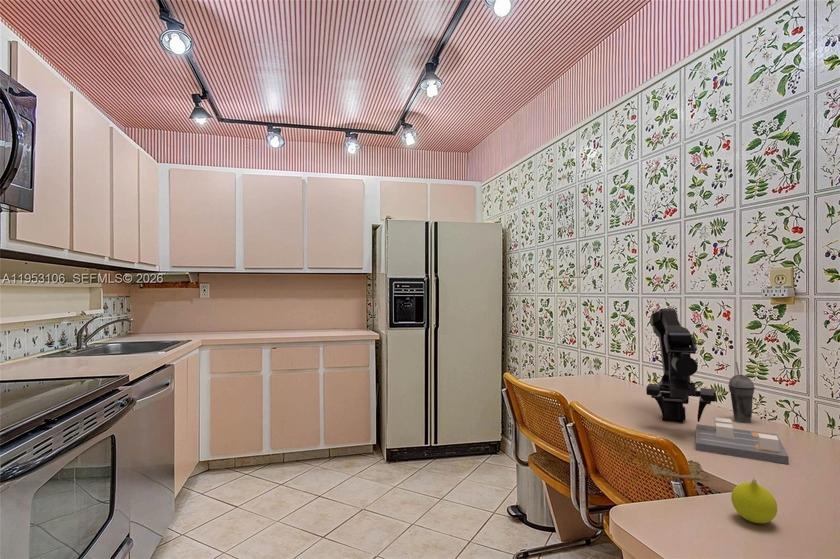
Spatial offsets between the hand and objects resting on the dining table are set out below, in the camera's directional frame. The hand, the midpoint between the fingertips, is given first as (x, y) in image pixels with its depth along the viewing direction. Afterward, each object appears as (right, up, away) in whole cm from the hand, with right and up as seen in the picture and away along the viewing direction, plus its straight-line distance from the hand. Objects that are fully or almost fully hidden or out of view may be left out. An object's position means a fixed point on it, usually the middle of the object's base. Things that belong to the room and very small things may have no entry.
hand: (681, 419), depth 137 cm
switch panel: (+8, -3, -13) cm, 16 cm away
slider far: (+9, -1, -6) cm, 11 cm away
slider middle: (+6, -1, -11) cm, 13 cm away
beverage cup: (+27, -4, +10) cm, 29 cm away
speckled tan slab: (-18, -4, -28) cm, 33 cm away
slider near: (+11, -1, -21) cm, 24 cm away
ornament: (-18, -3, -53) cm, 56 cm away
